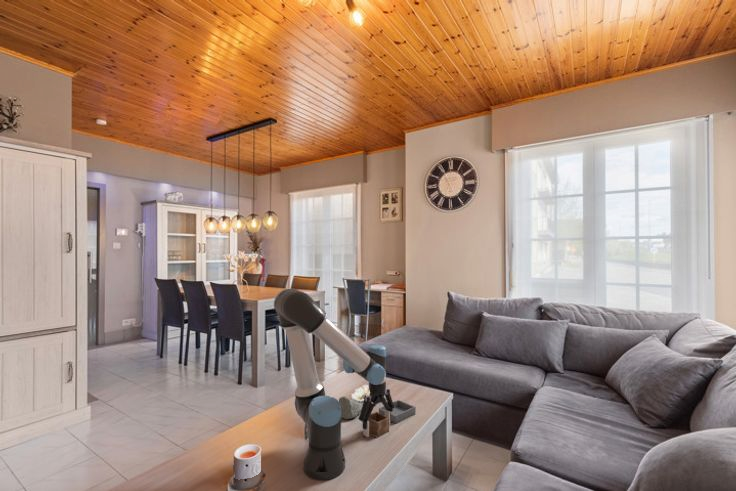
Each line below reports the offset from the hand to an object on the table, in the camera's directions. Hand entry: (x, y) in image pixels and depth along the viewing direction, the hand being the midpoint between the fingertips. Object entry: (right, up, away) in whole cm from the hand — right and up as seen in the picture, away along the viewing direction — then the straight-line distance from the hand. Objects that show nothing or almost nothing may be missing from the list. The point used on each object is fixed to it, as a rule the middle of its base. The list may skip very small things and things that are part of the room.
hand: (377, 430), depth 151 cm
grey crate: (+10, -1, +15) cm, 18 cm away
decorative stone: (-12, -1, +14) cm, 19 cm away
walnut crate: (0, 0, 0) cm, 0 cm away
